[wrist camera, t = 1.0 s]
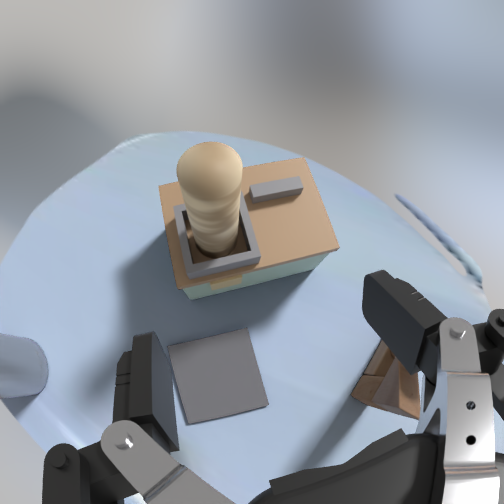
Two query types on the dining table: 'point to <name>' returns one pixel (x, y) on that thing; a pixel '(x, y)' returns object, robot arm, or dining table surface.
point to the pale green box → (254, 231)
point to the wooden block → (389, 385)
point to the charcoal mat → (217, 376)
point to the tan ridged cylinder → (212, 196)
